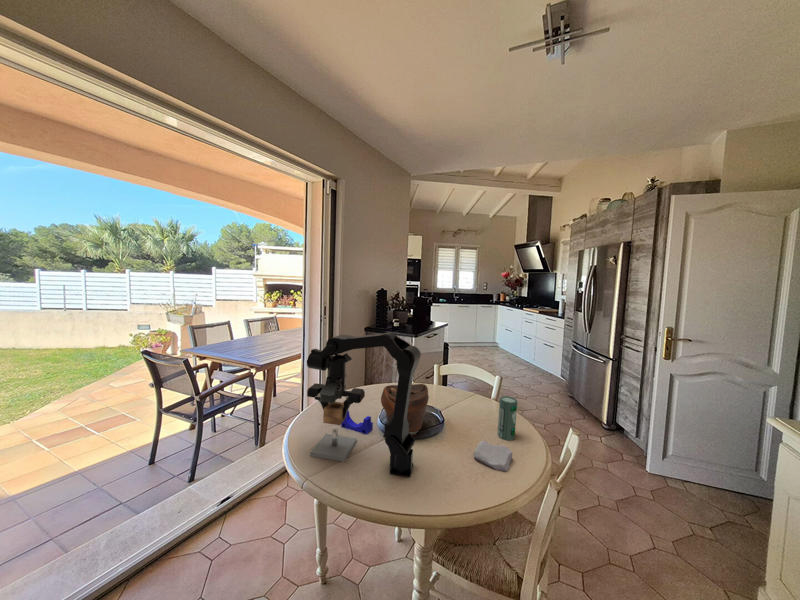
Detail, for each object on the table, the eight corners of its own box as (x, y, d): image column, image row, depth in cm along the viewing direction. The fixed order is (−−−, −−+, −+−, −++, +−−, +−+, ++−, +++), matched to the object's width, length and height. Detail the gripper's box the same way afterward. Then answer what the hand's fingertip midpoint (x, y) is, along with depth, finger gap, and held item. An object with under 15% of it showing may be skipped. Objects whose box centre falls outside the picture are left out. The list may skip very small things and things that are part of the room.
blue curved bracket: (372, 429, 120) (373, 415, 120) (366, 435, 116) (367, 420, 115) (347, 422, 125) (348, 408, 125) (341, 427, 121) (341, 412, 121)
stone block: (507, 479, 96) (513, 457, 105) (507, 466, 95) (513, 445, 103) (471, 467, 102) (479, 447, 111) (470, 455, 101) (478, 436, 109)
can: (516, 440, 116) (519, 402, 114) (500, 440, 116) (503, 402, 114) (510, 432, 122) (513, 396, 120) (495, 431, 122) (498, 395, 120)
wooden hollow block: (346, 416, 106) (347, 403, 105) (340, 425, 100) (340, 410, 100) (330, 414, 107) (330, 401, 106) (323, 422, 101) (323, 408, 101)
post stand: (356, 442, 110) (357, 423, 110) (344, 461, 99) (344, 441, 98) (326, 437, 113) (326, 419, 112) (310, 456, 101) (310, 436, 100)
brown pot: (370, 427, 121) (372, 384, 120) (406, 413, 135) (408, 374, 133) (399, 448, 108) (402, 399, 106) (436, 430, 121) (439, 387, 120)
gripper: (299, 377, 96) (298, 424, 97) (355, 384, 92) (353, 432, 94) (315, 367, 107) (314, 409, 108) (365, 372, 103) (364, 416, 105)
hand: (335, 416), depth 103 cm, fingers closed on wooden hollow block, 6 cm apart
